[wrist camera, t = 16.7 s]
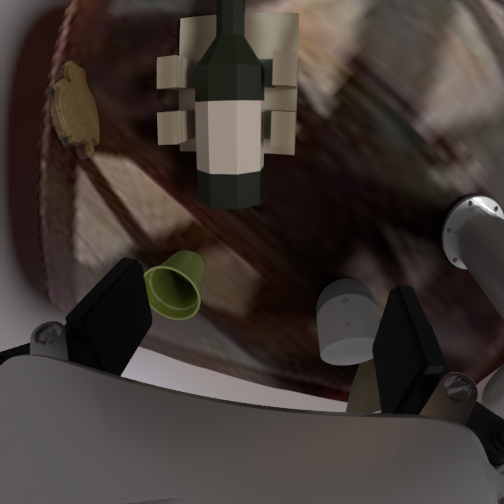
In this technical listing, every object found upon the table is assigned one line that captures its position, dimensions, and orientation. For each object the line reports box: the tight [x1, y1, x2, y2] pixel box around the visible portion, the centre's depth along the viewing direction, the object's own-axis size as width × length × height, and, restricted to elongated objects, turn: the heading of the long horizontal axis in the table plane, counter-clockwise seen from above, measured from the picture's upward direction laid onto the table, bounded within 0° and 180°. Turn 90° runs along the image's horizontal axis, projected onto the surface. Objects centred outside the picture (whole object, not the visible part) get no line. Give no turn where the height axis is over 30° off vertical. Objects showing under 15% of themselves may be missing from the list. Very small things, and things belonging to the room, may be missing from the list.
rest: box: [157, 12, 299, 155], centre depth 33 cm, size 16×20×8 cm
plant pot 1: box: [144, 250, 206, 320], centre depth 47 cm, size 9×9×9 cm
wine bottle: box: [195, 0, 265, 210], centre depth 33 cm, size 8×8×30 cm
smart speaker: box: [316, 278, 380, 365], centre depth 43 cm, size 10×9×14 cm
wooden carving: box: [49, 61, 100, 160], centre depth 37 cm, size 16×5×10 cm, turn 19°
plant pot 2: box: [346, 358, 381, 413], centre depth 48 cm, size 15×15×16 cm
